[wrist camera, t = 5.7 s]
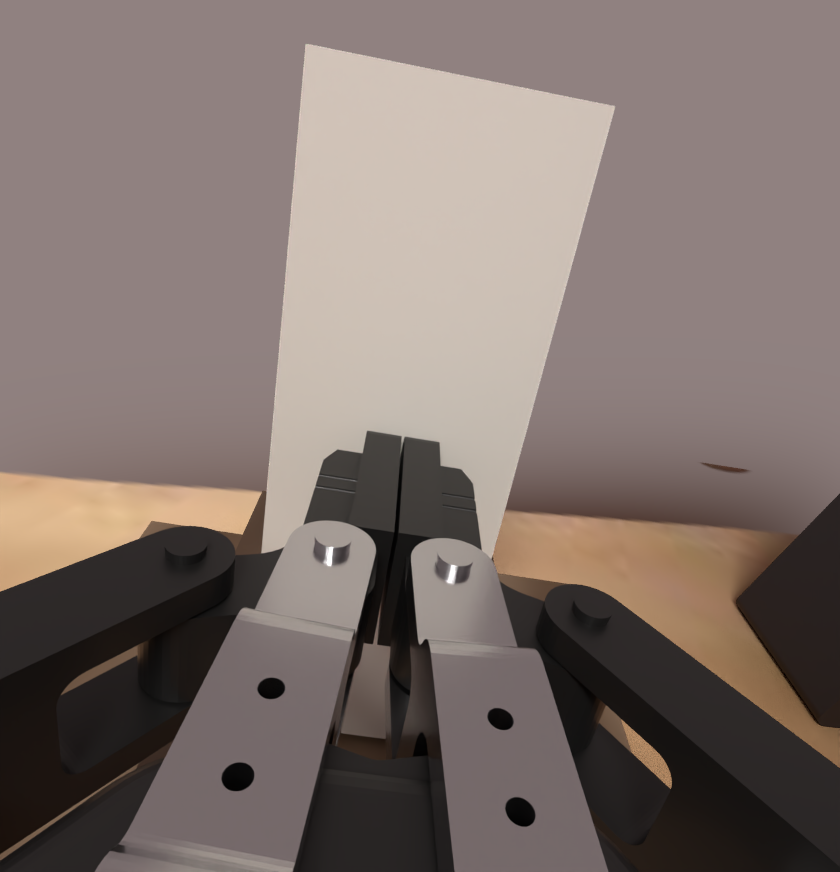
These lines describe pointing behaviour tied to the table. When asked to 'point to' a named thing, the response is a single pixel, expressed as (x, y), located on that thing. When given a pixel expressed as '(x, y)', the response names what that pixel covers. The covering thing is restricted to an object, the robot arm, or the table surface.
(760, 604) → the phone stand
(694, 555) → the table surface
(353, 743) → the ridged brown base plate
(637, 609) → the table surface
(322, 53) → the cream block
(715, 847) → the robot arm
